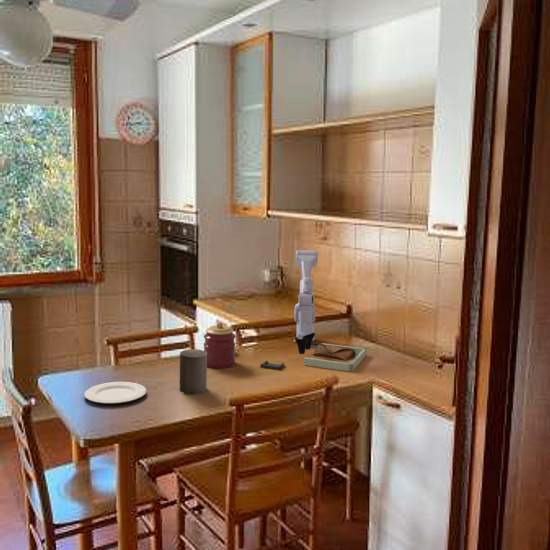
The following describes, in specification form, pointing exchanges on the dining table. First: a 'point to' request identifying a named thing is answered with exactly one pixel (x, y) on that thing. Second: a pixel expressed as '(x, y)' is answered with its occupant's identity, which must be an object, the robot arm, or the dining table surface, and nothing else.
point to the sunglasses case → (334, 352)
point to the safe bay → (338, 365)
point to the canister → (220, 346)
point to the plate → (115, 392)
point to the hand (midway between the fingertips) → (304, 351)
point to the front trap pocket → (272, 365)
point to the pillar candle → (193, 371)
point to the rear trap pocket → (314, 345)
